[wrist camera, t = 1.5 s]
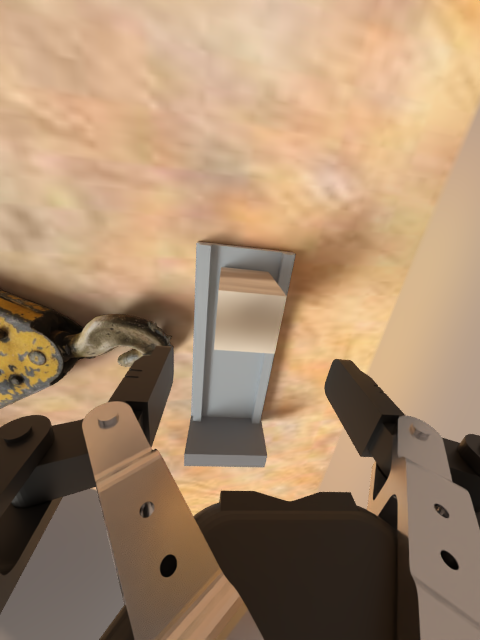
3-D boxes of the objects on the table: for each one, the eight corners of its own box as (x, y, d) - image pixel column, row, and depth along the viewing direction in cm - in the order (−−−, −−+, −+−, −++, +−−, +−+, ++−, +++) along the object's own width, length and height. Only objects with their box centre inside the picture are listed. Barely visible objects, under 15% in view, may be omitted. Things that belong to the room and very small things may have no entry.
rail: (198, 241, 21) (187, 251, 15) (292, 252, 22) (315, 265, 16) (192, 419, 30) (184, 465, 25) (257, 421, 31) (264, 467, 26)
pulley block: (169, 424, 22) (-165, 438, 20) (181, 390, 27) (-80, 399, 26) (152, 277, 18) (-263, 282, 16) (170, 272, 23) (-138, 275, 22)
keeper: (221, 266, 20) (218, 290, 14) (268, 271, 21) (286, 296, 14) (217, 311, 22) (214, 349, 16) (261, 315, 23) (274, 353, 16)
